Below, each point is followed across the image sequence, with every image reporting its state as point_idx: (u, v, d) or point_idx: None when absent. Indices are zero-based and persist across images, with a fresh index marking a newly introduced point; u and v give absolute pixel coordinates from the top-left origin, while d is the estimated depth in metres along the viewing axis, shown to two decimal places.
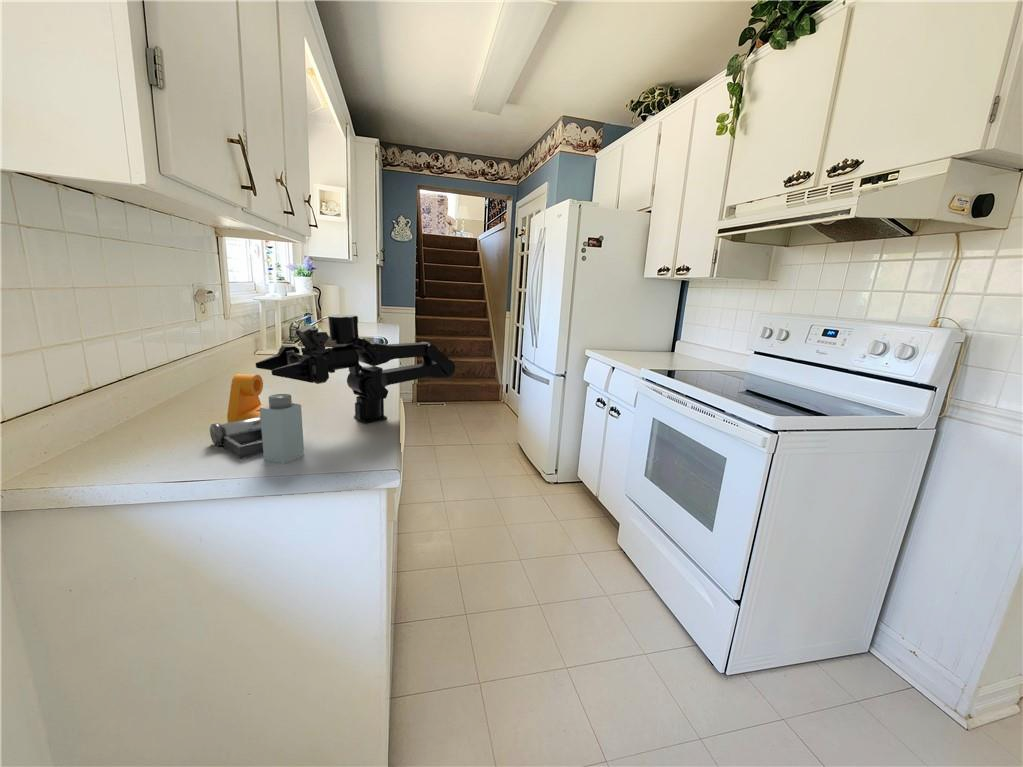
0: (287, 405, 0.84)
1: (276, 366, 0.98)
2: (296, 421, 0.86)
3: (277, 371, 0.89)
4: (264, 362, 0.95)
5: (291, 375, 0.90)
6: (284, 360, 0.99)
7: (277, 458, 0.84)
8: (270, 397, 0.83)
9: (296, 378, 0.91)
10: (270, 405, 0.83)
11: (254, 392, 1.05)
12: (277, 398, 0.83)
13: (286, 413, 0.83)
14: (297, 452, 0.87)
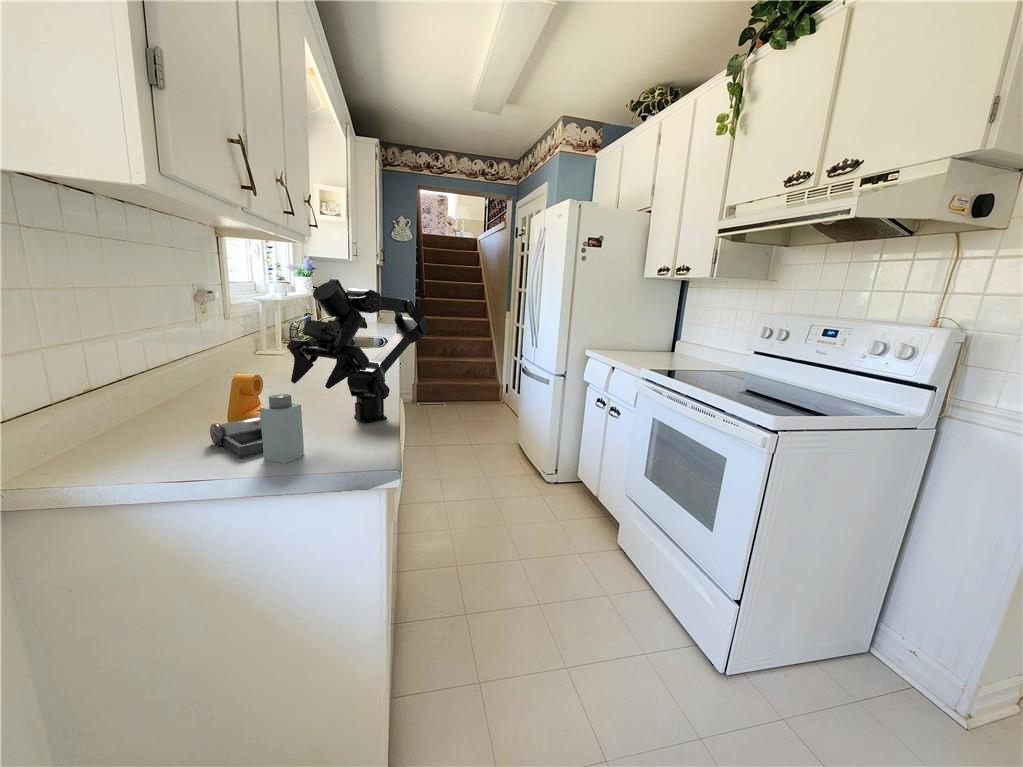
0: (287, 405, 0.84)
1: (304, 369, 0.96)
2: (296, 421, 0.86)
3: (330, 383, 0.90)
4: (296, 374, 0.93)
5: (341, 377, 0.92)
6: (305, 359, 0.96)
7: (277, 458, 0.84)
8: (270, 397, 0.83)
9: (345, 377, 0.93)
10: (270, 405, 0.83)
11: (254, 392, 1.05)
12: (277, 398, 0.83)
13: (286, 413, 0.83)
14: (297, 452, 0.87)
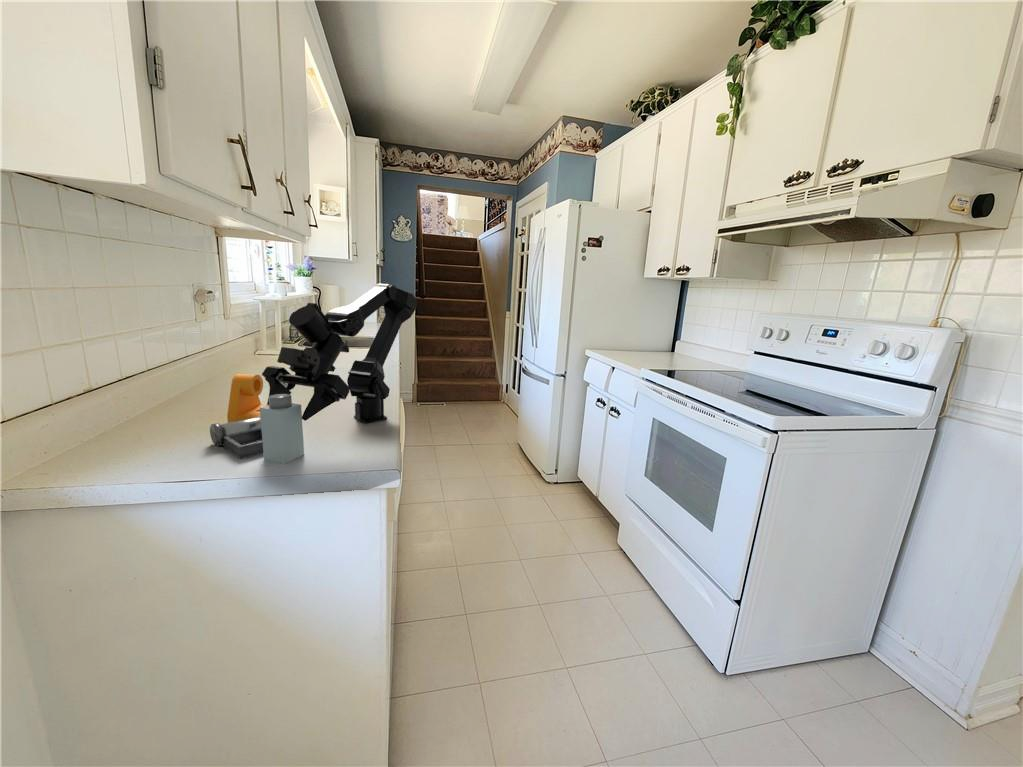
0: (287, 405, 0.84)
1: None
2: (296, 421, 0.86)
3: (307, 415, 0.85)
4: None
5: (319, 408, 0.87)
6: (281, 387, 0.90)
7: (277, 458, 0.84)
8: (270, 397, 0.83)
9: (324, 407, 0.88)
10: (270, 405, 0.83)
11: (254, 392, 1.05)
12: (277, 398, 0.83)
13: (286, 413, 0.83)
14: (297, 452, 0.87)
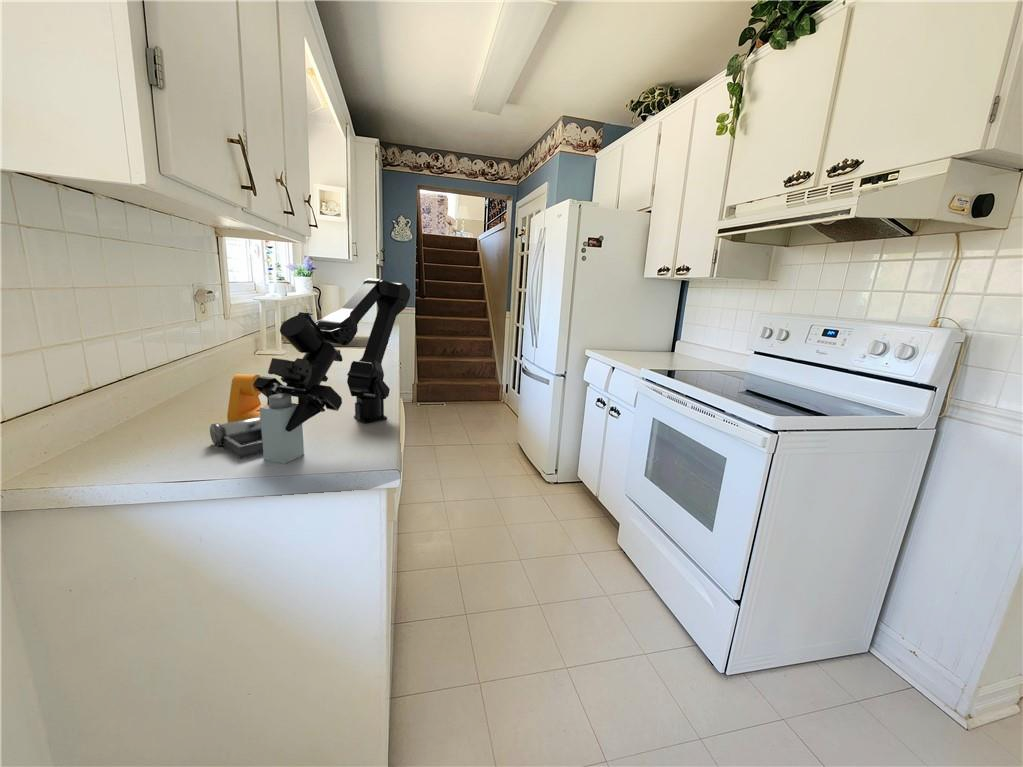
0: (287, 405, 0.84)
1: None
2: None
3: (291, 426, 0.84)
4: None
5: (303, 419, 0.86)
6: None
7: (277, 458, 0.84)
8: (270, 397, 0.83)
9: (309, 417, 0.87)
10: (270, 405, 0.83)
11: (254, 392, 1.05)
12: (277, 398, 0.83)
13: (286, 413, 0.83)
14: (297, 452, 0.87)
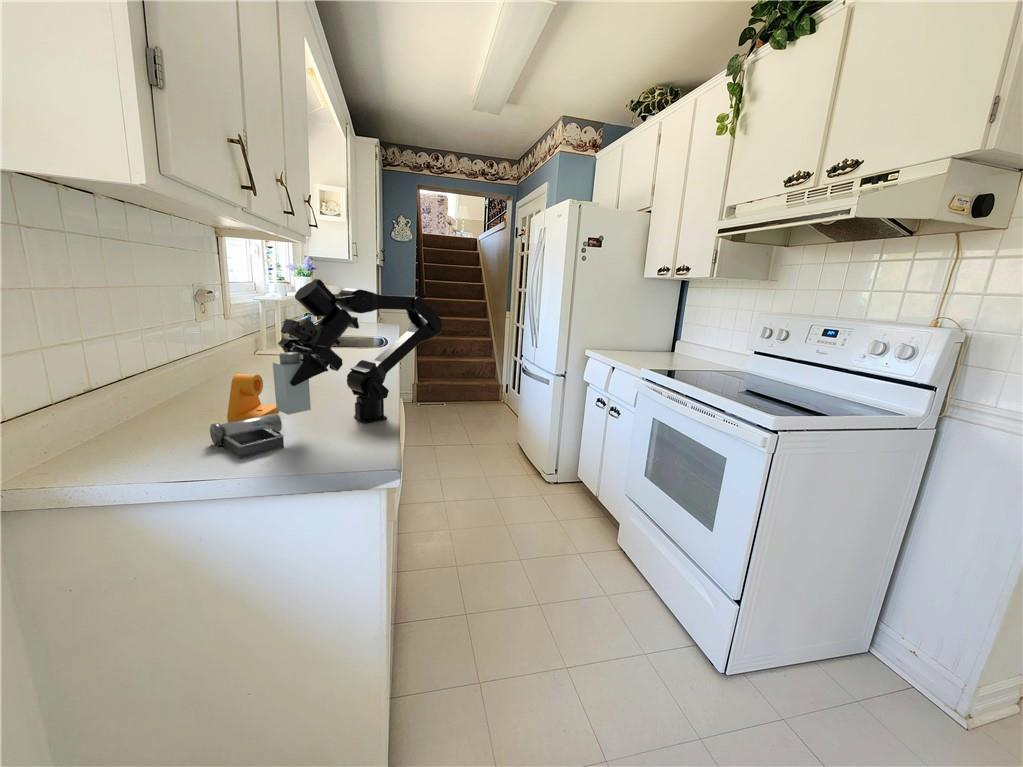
0: (293, 361, 0.92)
1: None
2: None
3: (294, 381, 0.92)
4: None
5: (307, 376, 0.93)
6: None
7: (284, 409, 0.93)
8: (281, 353, 0.93)
9: (313, 375, 0.94)
10: (280, 360, 0.92)
11: (254, 392, 1.05)
12: (285, 354, 0.92)
13: (290, 369, 0.91)
14: (303, 406, 0.95)
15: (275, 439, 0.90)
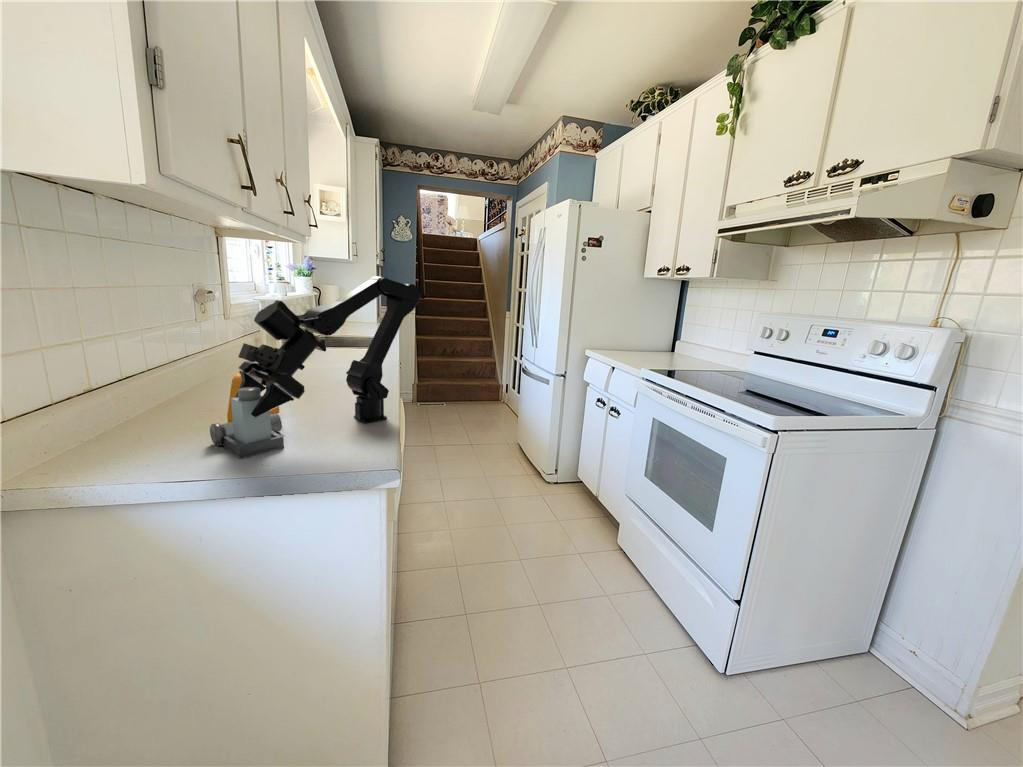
0: (252, 398, 0.87)
1: None
2: (262, 414, 0.88)
3: (256, 412, 0.85)
4: None
5: (271, 406, 0.86)
6: (253, 382, 0.93)
7: None
8: (239, 389, 0.87)
9: (277, 405, 0.87)
10: (238, 397, 0.87)
11: None
12: (244, 390, 0.87)
13: (249, 406, 0.86)
14: None
15: (275, 439, 0.90)
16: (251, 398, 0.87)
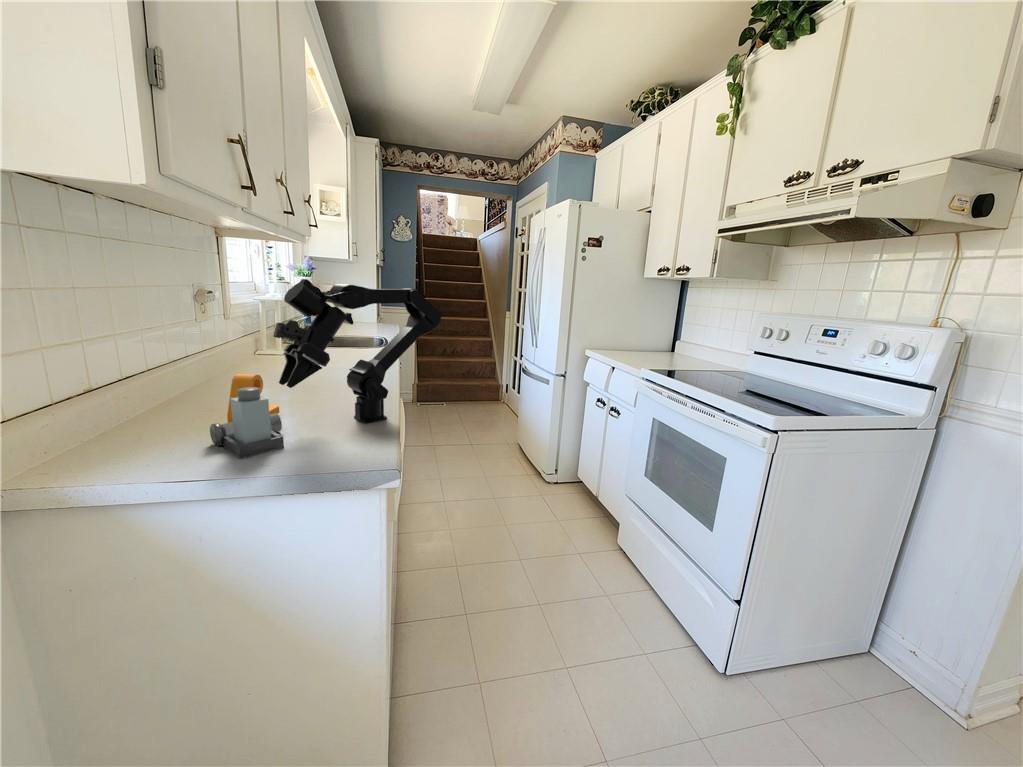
0: (252, 398, 0.87)
1: None
2: (262, 414, 0.88)
3: (290, 383, 0.91)
4: (283, 376, 0.99)
5: (302, 376, 0.92)
6: (295, 361, 1.01)
7: None
8: (239, 389, 0.87)
9: (308, 375, 0.92)
10: (238, 397, 0.87)
11: None
12: (243, 391, 0.86)
13: (248, 406, 0.86)
14: None
15: (275, 439, 0.90)
16: (251, 398, 0.87)
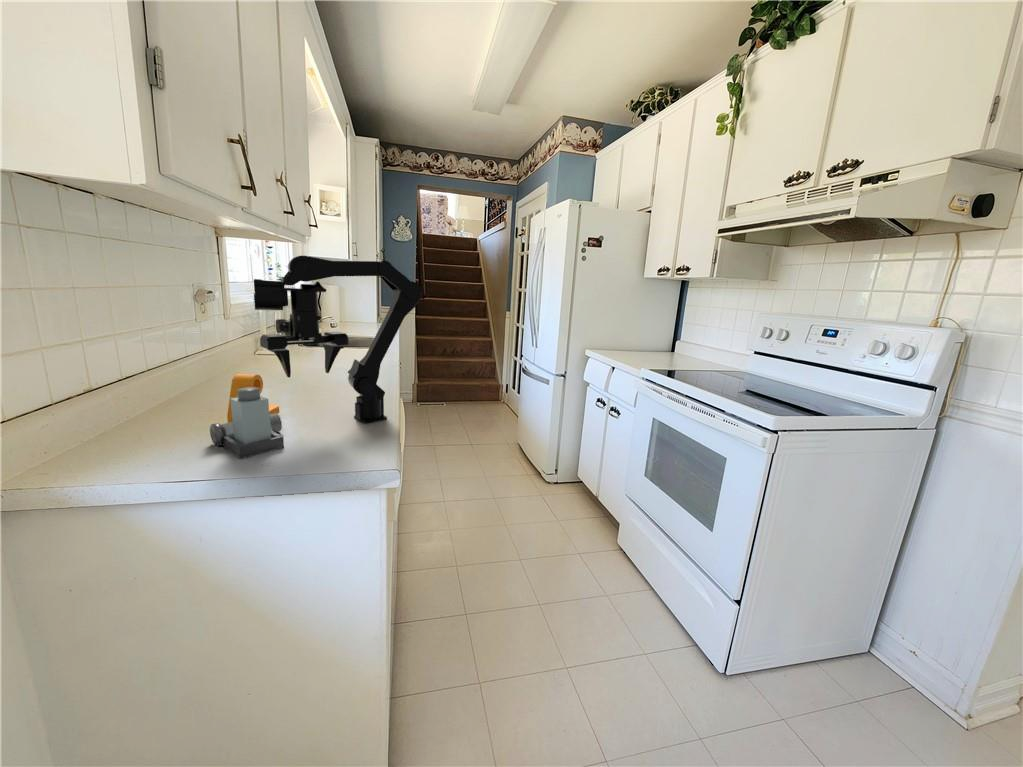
0: (252, 398, 0.87)
1: (328, 356, 1.05)
2: (262, 414, 0.88)
3: (286, 373, 0.99)
4: (325, 365, 1.06)
5: (283, 364, 0.98)
6: (327, 348, 1.06)
7: None
8: (239, 389, 0.87)
9: (283, 361, 0.97)
10: (238, 397, 0.87)
11: None
12: (243, 391, 0.86)
13: (248, 406, 0.86)
14: None
15: (275, 439, 0.90)
16: (250, 398, 0.87)
